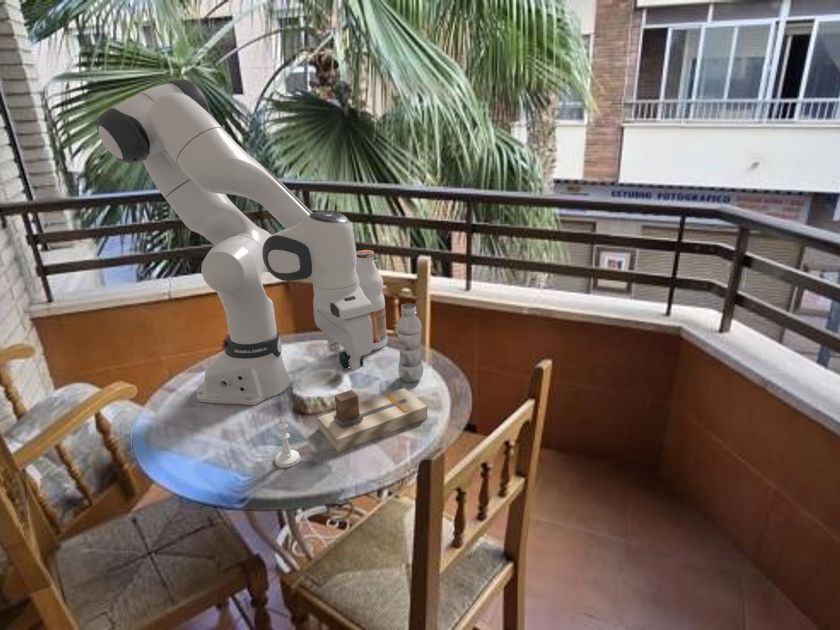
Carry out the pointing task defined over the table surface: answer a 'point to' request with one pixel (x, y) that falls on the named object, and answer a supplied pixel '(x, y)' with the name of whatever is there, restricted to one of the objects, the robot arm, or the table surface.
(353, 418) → the slider
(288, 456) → the chess piece
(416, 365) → the plastic bottle
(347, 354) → the watch
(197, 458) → the table surface
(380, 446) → the table surface
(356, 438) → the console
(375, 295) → the fruit juice
